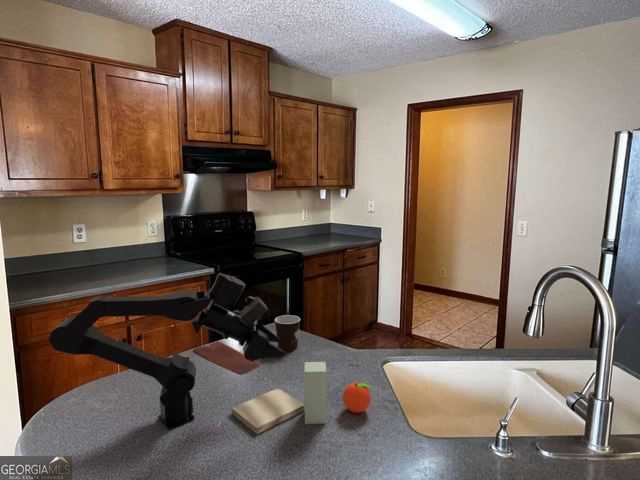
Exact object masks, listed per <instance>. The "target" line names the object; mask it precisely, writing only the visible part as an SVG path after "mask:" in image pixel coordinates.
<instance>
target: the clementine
mask: <svg viewBox="0 0 640 480" xmlns="http://www.w3.org/2000/svg"><path fill="white" fill-rule="evenodd" d="M370 388H371V389H372V386H370V385H368V384H367V383H360V382H352V383H350V384H348V385H347V386H346V387H345V389H344V391H343V394H342V400H343V405H344V406H345V407H346V409H347V410H348V411H350V412H352V413H355V414H357V413H362V412H365V411H366V410H367V409H368V408H369V406H370V405H371V400H372V397H371V392H370V390H369V389H370ZM372 390H373V392H374V393H375V391H374V389H372Z"/></svg>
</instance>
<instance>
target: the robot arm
mask: <svg viewBox="0 0 640 480" xmlns="http://www.w3.org/2000/svg"><path fill="white" fill-rule="evenodd" d="M245 288H246V284H245V282H243V281H242V280H241V279H239V278H237V277H235V276H233V275H228V274H224V273H221V272H219V273H218V274H217V276H216V278H215V281H214V283H213V285H212V286H211V289H206V290H199V291H194V290H192V289H187V290H186V289H184V290H180V291H174V292H171V293H167V294H162V295H150V296H149V295H148V296H145V295H144V296H140V295H139V296H136V295H135V296H104V295H98V296H96V297H94V298H93V299H92V300H91V301H90V302H89V303H88V304H87V306H86V307H84V308H83V309H82V310H81V311H80V312H79V313H78V314H77V315H76V316H72V317H71V316H70V317H68V318H66V319H64V320H63V321H62V322H61V323H60V324H59V325H57V326H56V327H55V328H54V329H53V330H52V331H51V333H50V334H49V337H48V338H49V343H50V347H51V348H52V349H53V350H54V351H56V352H59V353H63V354H69V355H72V356H73V355H74V356H79V355H82V356H84V355H86V356H90V355H91V356H94V357H97V358H99V359H102V360H105V361H108V362H110V363H114V364H115V365H118V366H121V367H124V368H127V369H130V370H132V371H135V372H137V373H141V374H143V375H146V376H148V377H151V378H153V379H154V380H156V381H157V382H158V384H160V385H161V390H160V395H159V409H160V410H159V411H160V415H158V419H159V421H160V422H161V423H162V424H163V425H164V427H165V428H166V429H167V430H172V429H174V428H177V427H179V426H181V425H182V426H183V425H184V424H186V423H188V422H191V421H193V420H195V419H196V418H195V415H194V414H193V413H194V400H193V397H192V396H191V391H192V390H193V388H194V387H195V384H196V375H197V368H196V365H195V362H193V361H191V360H190V357H188V356H184V355H183V356H182V355H181V354H179V353H177V352H173V354H172V356H171V357H163V356H161V355H156V354H155V353H151V352H149V351H147V350H144V349H141V348H139V347H136V346H133V345H131V344H128V343H125V342H123V341H120V340H118V339H117V338H116V339H115V338H113V337H111V336H107V335H105V334H103V333H102V332H101V331H100V330H99V329H98V328H97V327H96V326H95V325H94V324H95V323H97V321H98V320H99V319H101V318H109V317H110V318H111V317H112V318H113V317H114V318H115V317H116V318H117V317H150V316H151V317H152V316H153V317H154V316H157V317H163V318H166V319H168V320H174V321H181V322H191V325H192V326H193V329H194V332H195V334H198V333H199V332H200V330H201V328H202V327H204V328H207V329H209V330H211V331H214V332H216V333H218V334H220V335H222V336H223V337H222V338H223V339H225V340H228V339H229V338H230V339H232V340H235V341H237V342H238V345H239V346H242V351H243V354H244V356H245V359H247V360H249V361H251V362H254V361H256V362H258V361H257V360H264V359H271V358H272V359H275V358H284V357H285V356H286V351H282V350H281V349H280V348H278V346H277V345H275V344H274V343H278V341H279V337H277V334H275V333H274V332H272V331H271V330H270V329H269V328H268V327H266V326H265V325H264V324H263V321H262V317H261V316H263V315H265V314H266V313H268V311H269V310H268V307H267V304H265V302H264V301H263V300H262V298H260V297H258V296H255V297H254V296H251V295H249V296H247V297H246V298H245V300H244V301H245V305H244V307H243V309H242V310H241V311H239V310H238V309H236V310H233V311H231V310H229V309H230V308H231V307H234V306H235V305H236V303H237V301H239V298H240V296H241V294H242V292H243V290H244V289H245ZM228 308H229V309H228ZM196 317H197V318H196Z"/></svg>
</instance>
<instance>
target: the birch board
mask: <svg viewBox="0 0 640 480" xmlns="http://www.w3.org/2000/svg"><path fill="white" fill-rule="evenodd" d="M302 412H305V403H302V402H301V401H300V400H298V399H296V398H295V397H293V396H291V395H290V394H288V393H286V392H285V391H283V390H282V389H280V388H275V389H273V390H271V391H268V392H266V393H263V394H261V395H259V396H256V397H254V398H251V399H249V400H247V401H245V402H242V403H240V404H238V405H235V406H233V407H232V408H231V414H232V415H233V416H235V418H237V419H238V420H239V421H240V422H242V423H243V424H244V425H245V426H247V427H248V428H249V429H250V430H252V432H254V433H255V434H256V435H258V434H261V433H263V432H265V431H266V430H268V429H270V428H272V427H274V426H276V425H279V424H280V423H282V422H285V421H286V420H288V419H291V418H293V417H294V416H297V415H299V414H300V413H302Z"/></svg>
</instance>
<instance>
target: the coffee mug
mask: <svg viewBox="0 0 640 480" xmlns="http://www.w3.org/2000/svg"><path fill="white" fill-rule="evenodd" d="M274 323H275V325H274V326H275V332H276V334H275V335H276V336H277V337H279V341H278V342H277V347H278V348H280V349H281V350H282V351H284V352H293V351H295V350H297V348H298V343H299V336H300V335H299V334H300V325H301V324H300V323H301V318H300V317H299V316H297V315H292V314H291V315H289V314H286V315H285V314H283V315H279V316H277V317H275V319H274Z"/></svg>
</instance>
